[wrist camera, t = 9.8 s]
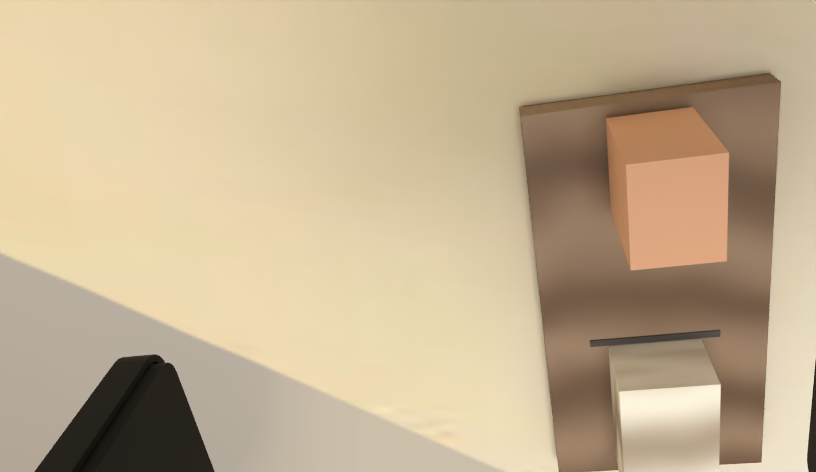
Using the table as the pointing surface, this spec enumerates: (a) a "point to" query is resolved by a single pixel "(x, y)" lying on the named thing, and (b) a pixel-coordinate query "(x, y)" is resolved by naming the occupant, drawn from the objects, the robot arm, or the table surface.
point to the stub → (668, 188)
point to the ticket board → (653, 291)
